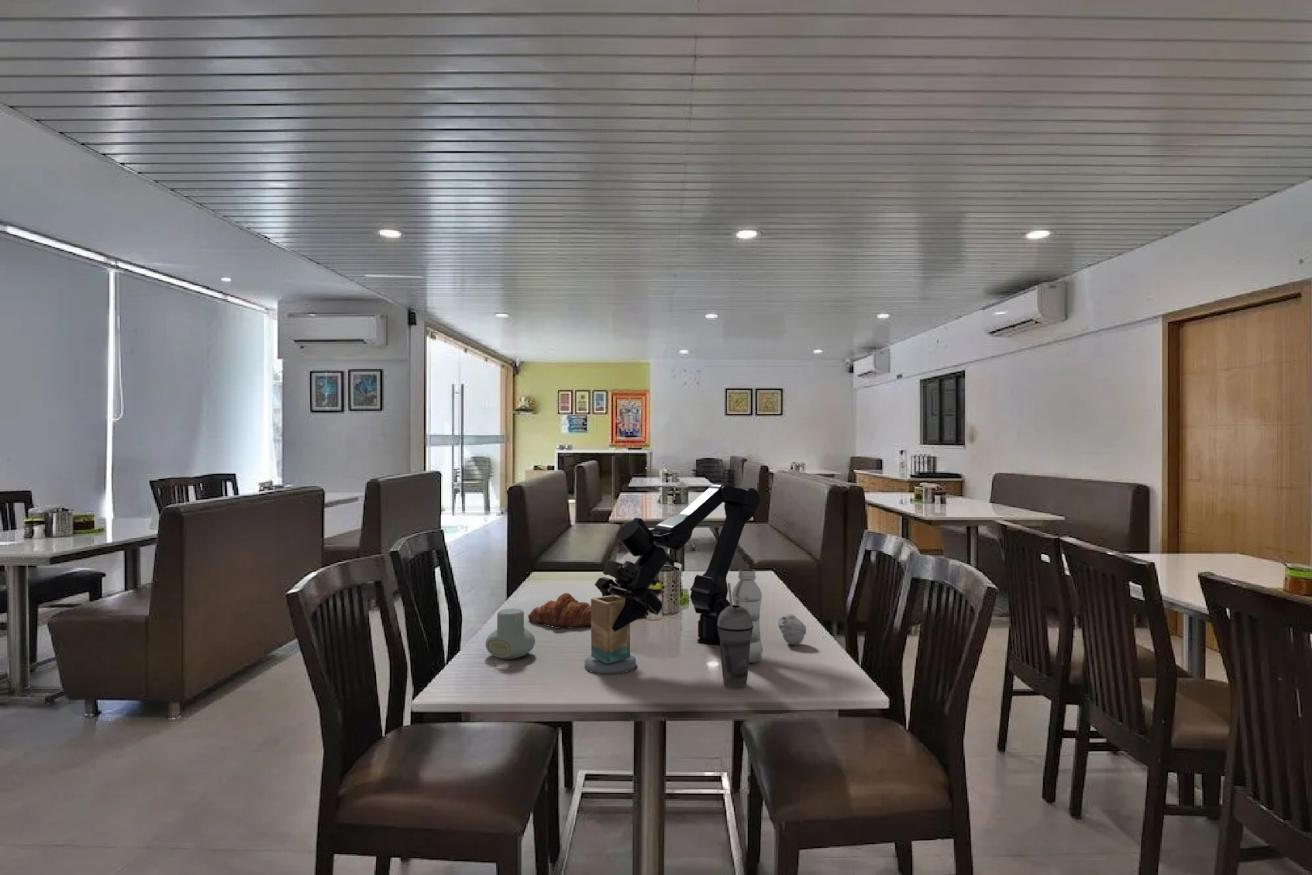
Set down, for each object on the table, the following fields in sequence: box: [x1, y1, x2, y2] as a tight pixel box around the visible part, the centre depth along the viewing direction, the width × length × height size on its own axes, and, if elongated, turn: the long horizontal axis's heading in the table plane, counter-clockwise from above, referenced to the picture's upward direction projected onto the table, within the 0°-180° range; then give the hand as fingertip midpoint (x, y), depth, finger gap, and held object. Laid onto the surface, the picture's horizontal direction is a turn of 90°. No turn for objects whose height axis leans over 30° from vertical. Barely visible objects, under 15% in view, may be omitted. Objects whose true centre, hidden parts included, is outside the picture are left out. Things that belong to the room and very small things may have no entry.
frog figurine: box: [777, 613, 807, 646], centre depth 160 cm, size 6×7×7 cm
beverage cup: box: [717, 582, 753, 690], centre depth 133 cm, size 7×7×20 cm
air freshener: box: [485, 608, 536, 661], centre depth 152 cm, size 11×8×10 cm
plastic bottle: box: [731, 568, 763, 664], centre depth 147 cm, size 6×7×20 cm
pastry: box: [527, 592, 591, 628], centre depth 180 cm, size 17×15×8 cm
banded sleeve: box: [590, 595, 631, 664], centre depth 144 cm, size 6×6×12 cm
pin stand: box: [584, 654, 637, 675], centre depth 144 cm, size 11×11×5 cm
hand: (605, 626), depth 144 cm, fingers closed on banded sleeve, 6 cm apart
